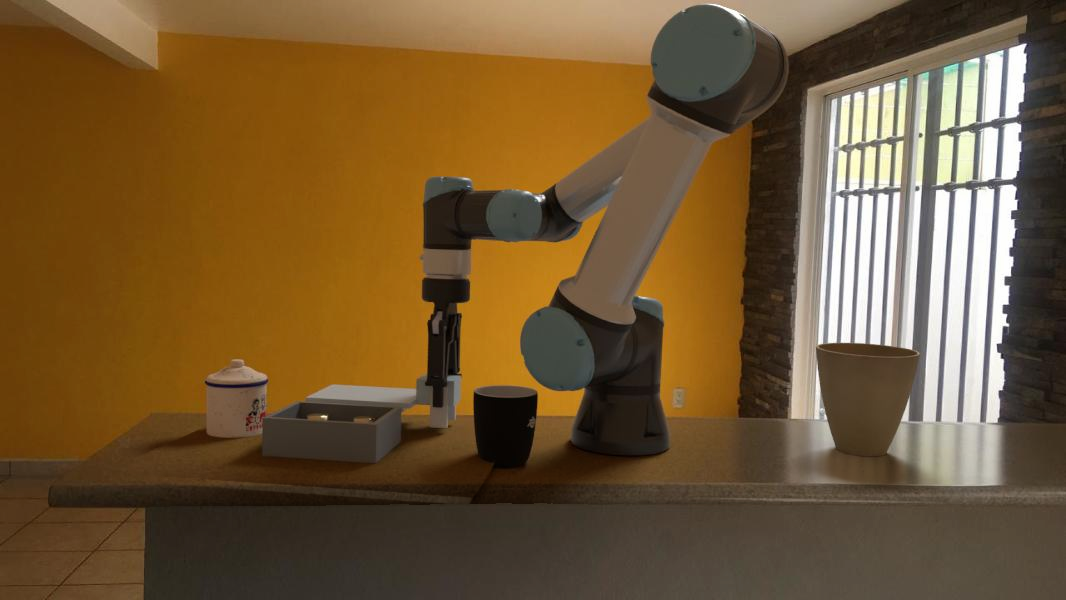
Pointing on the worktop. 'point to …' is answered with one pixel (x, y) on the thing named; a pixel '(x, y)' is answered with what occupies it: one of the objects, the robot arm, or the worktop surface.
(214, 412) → the teacup with lid
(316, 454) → the tub
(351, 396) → the lid
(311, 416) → the part
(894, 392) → the plant pot
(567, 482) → the worktop surface
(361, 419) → the part
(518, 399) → the mug
